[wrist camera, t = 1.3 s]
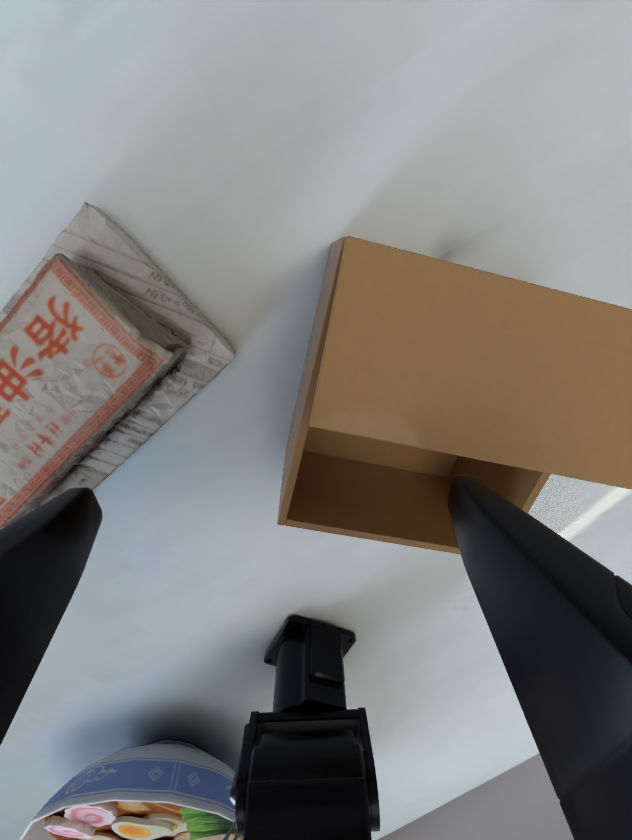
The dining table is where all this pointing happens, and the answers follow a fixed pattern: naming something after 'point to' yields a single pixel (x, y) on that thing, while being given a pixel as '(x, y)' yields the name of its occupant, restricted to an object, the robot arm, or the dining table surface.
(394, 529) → the carton
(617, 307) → the flap
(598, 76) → the dining table surface
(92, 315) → the packaged product
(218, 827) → the ramen bowl
